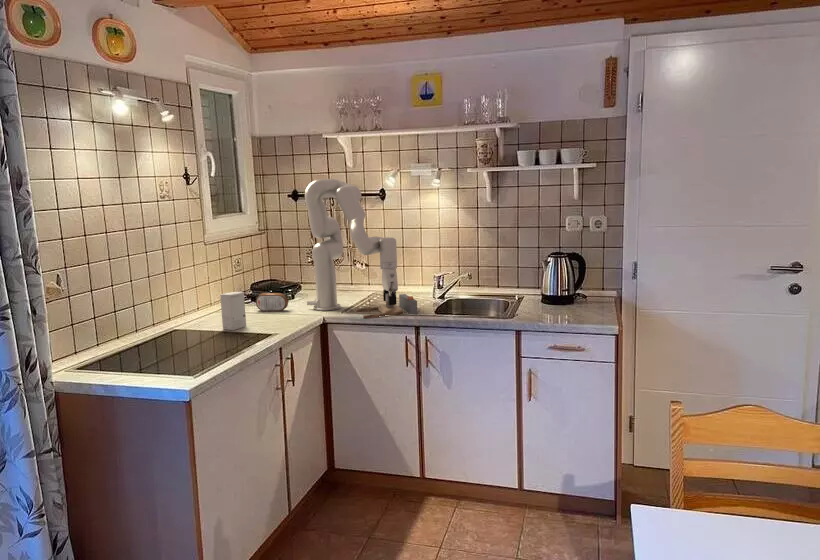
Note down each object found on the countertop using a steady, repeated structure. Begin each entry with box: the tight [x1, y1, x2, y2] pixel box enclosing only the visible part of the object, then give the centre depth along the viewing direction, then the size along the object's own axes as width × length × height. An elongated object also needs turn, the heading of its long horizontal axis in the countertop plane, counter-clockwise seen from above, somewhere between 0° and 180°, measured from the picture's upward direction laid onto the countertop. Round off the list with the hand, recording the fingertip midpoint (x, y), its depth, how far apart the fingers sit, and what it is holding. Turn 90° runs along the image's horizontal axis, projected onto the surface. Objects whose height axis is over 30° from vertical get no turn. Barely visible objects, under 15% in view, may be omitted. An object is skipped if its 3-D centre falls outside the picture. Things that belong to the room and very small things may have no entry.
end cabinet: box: [398, 293, 418, 315], centre depth 288 cm, size 3×18×6 cm, turn 17°
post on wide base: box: [377, 294, 403, 314], centre depth 285 cm, size 8×11×8 cm
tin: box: [255, 292, 289, 312], centre depth 295 cm, size 15×3×8 cm, turn 84°
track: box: [355, 306, 404, 319], centre depth 284 cm, size 18×15×1 cm
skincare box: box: [219, 291, 247, 331], centre depth 263 cm, size 8×6×15 cm
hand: (389, 302), depth 285 cm, fingers open, 9 cm apart
